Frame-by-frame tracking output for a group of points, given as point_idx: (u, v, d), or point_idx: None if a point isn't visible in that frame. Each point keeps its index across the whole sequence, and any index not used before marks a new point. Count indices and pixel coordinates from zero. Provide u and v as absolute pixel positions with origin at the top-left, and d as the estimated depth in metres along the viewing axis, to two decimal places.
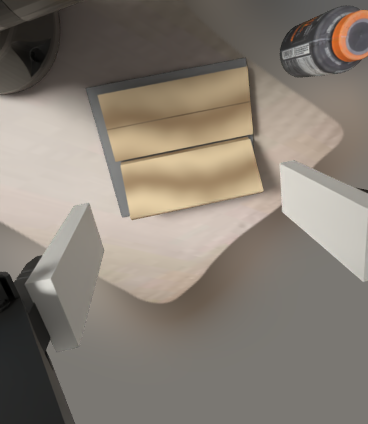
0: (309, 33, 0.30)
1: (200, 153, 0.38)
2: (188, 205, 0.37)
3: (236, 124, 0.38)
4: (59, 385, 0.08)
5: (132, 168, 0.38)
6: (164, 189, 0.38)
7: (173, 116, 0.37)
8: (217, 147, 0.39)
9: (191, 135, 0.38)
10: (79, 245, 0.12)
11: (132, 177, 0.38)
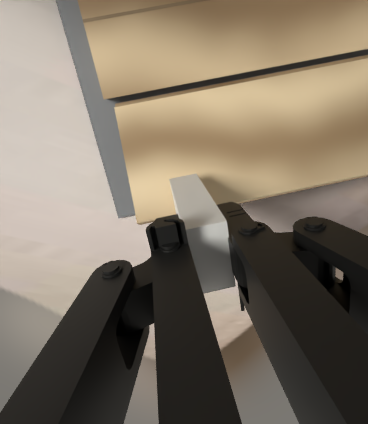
0: None
1: (284, 84, 0.18)
2: (262, 193, 0.17)
3: (363, 19, 0.18)
4: None
5: (139, 113, 0.18)
6: (209, 159, 0.17)
7: None
8: (319, 71, 0.18)
9: (267, 41, 0.18)
10: None
11: (140, 133, 0.18)
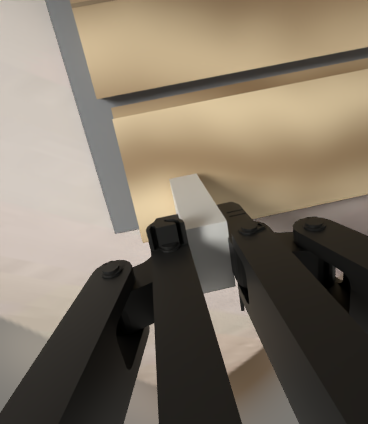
0: None
1: (304, 93, 0.16)
2: (264, 213, 0.18)
3: None
4: None
5: (141, 126, 0.16)
6: (216, 179, 0.17)
7: None
8: (345, 78, 0.16)
9: (287, 31, 0.15)
10: None
11: (143, 150, 0.16)
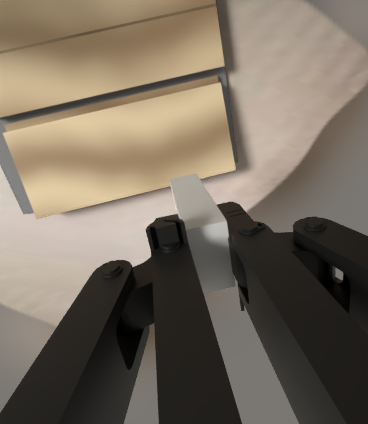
0: None
1: (138, 110, 0.23)
2: (123, 195, 0.25)
3: (194, 48, 0.22)
4: None
5: (24, 137, 0.23)
6: (83, 172, 0.24)
7: (80, 34, 0.21)
8: (166, 98, 0.23)
9: (117, 69, 0.22)
10: None
11: (27, 153, 0.23)
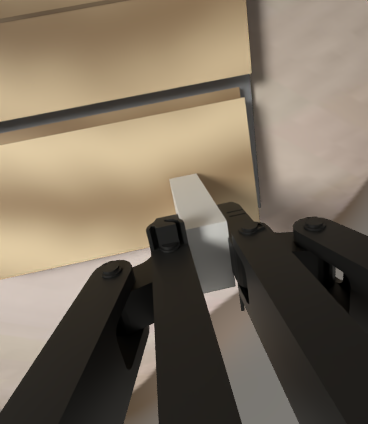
0: None
1: (119, 134, 0.15)
2: (95, 256, 0.17)
3: (207, 45, 0.14)
4: None
5: None
6: (35, 222, 0.16)
7: (29, 15, 0.13)
8: (161, 118, 0.15)
9: (87, 72, 0.14)
10: None
11: None
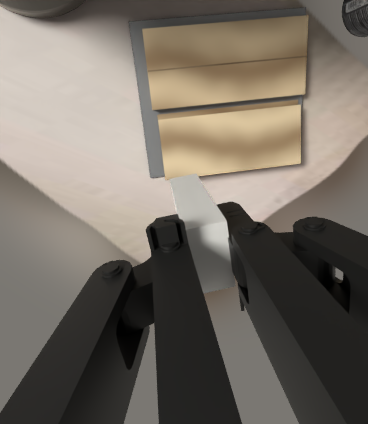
0: None
1: (246, 115, 0.35)
2: (225, 171, 0.37)
3: (288, 81, 0.35)
4: None
5: (171, 124, 0.35)
6: (203, 152, 0.36)
7: (222, 63, 0.33)
8: (264, 110, 0.35)
9: (238, 88, 0.34)
10: None
11: (170, 135, 0.35)
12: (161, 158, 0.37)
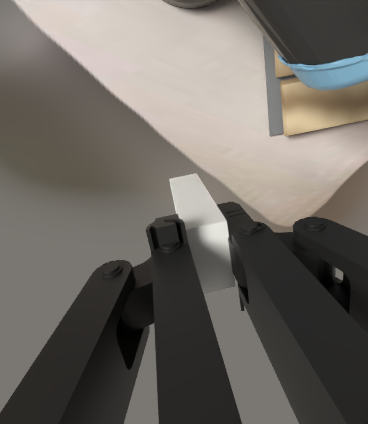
0: None
1: None
2: (335, 124, 0.44)
3: None
4: None
5: (293, 88, 0.42)
6: (317, 109, 0.43)
7: None
8: None
9: None
10: None
11: (292, 97, 0.42)
12: (280, 118, 0.45)
